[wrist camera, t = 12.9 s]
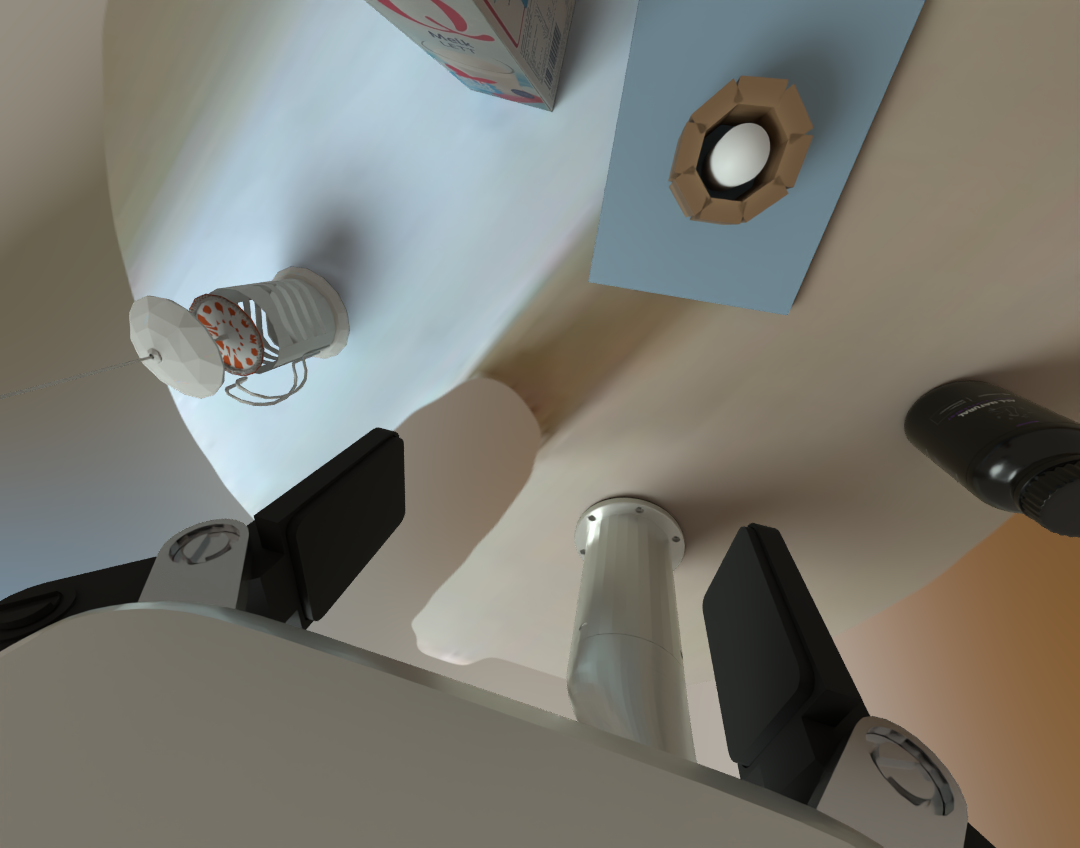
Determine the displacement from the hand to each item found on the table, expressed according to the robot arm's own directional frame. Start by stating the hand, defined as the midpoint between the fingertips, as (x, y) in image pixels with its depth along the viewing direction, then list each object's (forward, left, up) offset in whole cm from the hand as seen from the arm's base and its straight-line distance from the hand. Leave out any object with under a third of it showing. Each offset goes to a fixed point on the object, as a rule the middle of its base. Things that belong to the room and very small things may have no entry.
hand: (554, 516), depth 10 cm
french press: (-6, +31, -28) cm, 42 cm away
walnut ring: (+12, -5, -26) cm, 29 cm away
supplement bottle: (-3, -30, -28) cm, 41 cm away
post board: (+12, -6, -28) cm, 31 cm away
